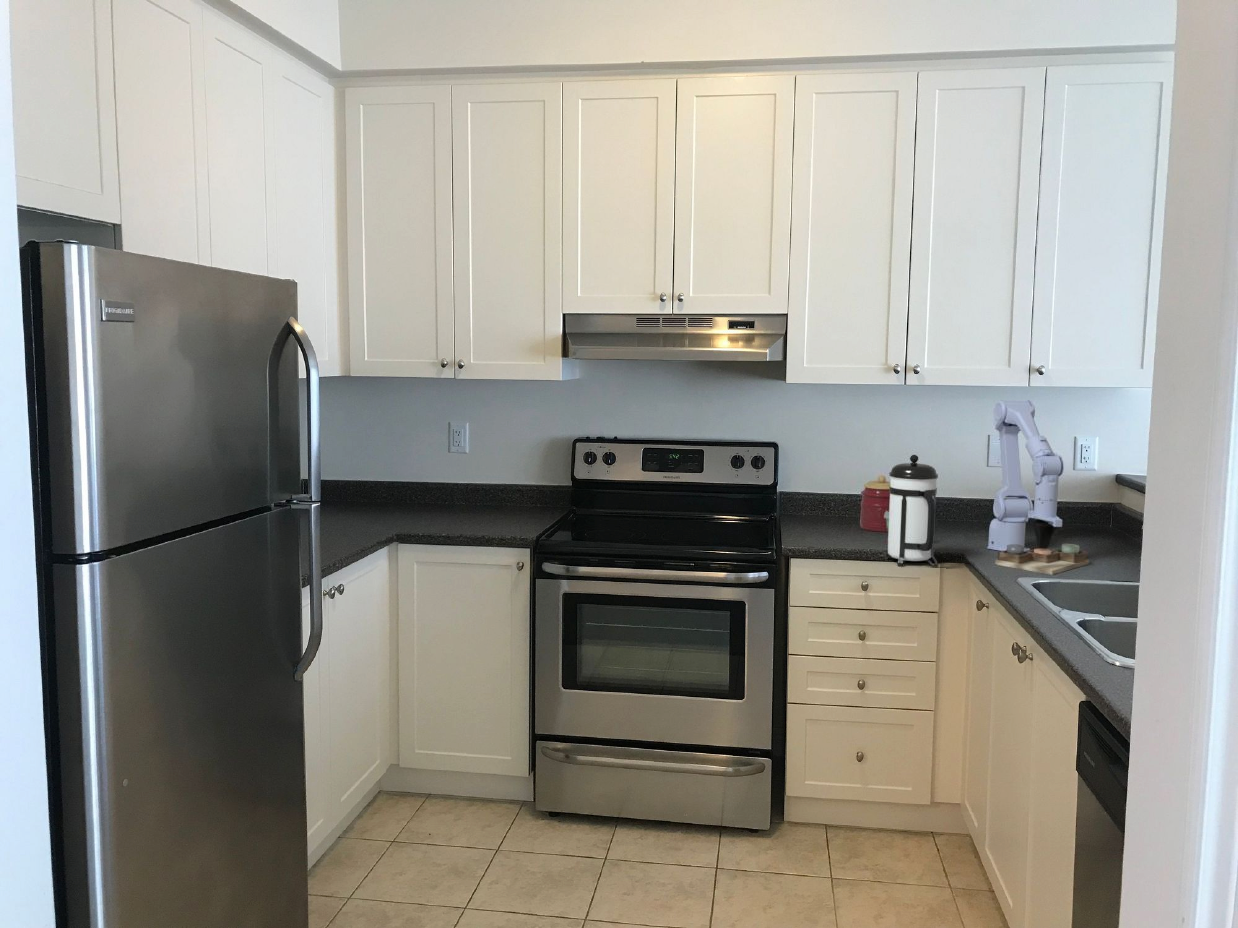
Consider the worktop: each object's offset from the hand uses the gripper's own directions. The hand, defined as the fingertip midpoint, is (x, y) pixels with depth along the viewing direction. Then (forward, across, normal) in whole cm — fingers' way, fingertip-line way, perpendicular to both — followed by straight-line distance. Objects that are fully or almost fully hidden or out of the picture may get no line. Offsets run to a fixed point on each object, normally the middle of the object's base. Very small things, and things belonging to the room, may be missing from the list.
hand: (1042, 548), depth 266 cm
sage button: (+2, 0, +8) cm, 8 cm away
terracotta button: (+3, 0, 0) cm, 3 cm away
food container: (+5, -27, -29) cm, 40 cm away
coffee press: (+5, -3, -35) cm, 36 cm away
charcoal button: (+2, 0, -8) cm, 8 cm away
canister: (+5, -55, -26) cm, 61 cm away
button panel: (+4, 0, 0) cm, 5 cm away
